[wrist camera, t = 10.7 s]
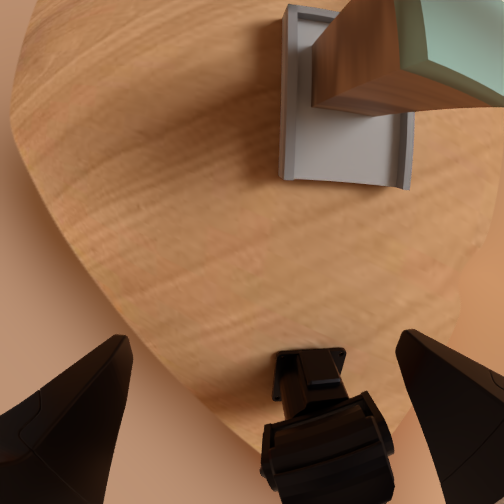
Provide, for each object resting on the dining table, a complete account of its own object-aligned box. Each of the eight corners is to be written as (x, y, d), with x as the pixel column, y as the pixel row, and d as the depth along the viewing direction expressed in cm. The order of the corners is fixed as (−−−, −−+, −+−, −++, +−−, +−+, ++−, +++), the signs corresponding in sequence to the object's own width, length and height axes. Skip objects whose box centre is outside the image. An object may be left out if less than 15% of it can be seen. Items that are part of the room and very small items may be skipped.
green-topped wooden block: (373, 116, 17) (522, 107, 5) (310, 107, 17) (428, 59, 5) (373, 58, 15) (503, 1, 4) (311, 45, 15) (406, -56, 3)
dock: (392, 184, 20) (409, 190, 18) (278, 175, 20) (284, 180, 17) (394, 41, 16) (410, 32, 14) (282, 18, 16) (287, 4, 13)
